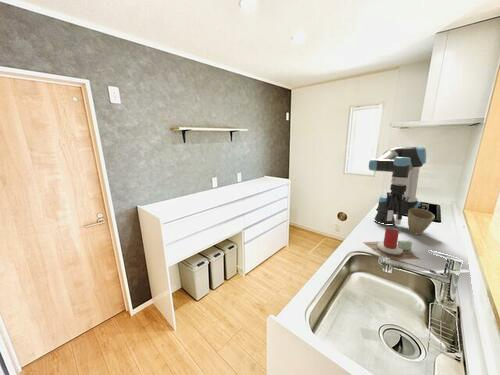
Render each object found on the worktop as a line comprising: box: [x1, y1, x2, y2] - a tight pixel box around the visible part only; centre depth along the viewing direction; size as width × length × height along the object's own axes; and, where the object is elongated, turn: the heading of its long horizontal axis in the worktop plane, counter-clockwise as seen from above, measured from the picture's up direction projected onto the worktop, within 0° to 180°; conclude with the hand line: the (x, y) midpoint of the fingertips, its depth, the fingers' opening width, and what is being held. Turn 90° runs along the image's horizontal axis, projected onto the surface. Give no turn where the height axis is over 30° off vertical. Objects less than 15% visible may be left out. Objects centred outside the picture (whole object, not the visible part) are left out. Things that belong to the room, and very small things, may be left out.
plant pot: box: [407, 207, 436, 235], centre depth 150 cm, size 15×15×16 cm
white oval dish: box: [377, 240, 413, 255], centre depth 124 cm, size 20×13×5 cm, turn 94°
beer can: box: [383, 226, 399, 249], centre depth 123 cm, size 7×7×12 cm
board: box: [362, 241, 421, 261], centre depth 123 cm, size 22×20×7 cm
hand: (393, 222), depth 121 cm, fingers open, 6 cm apart
